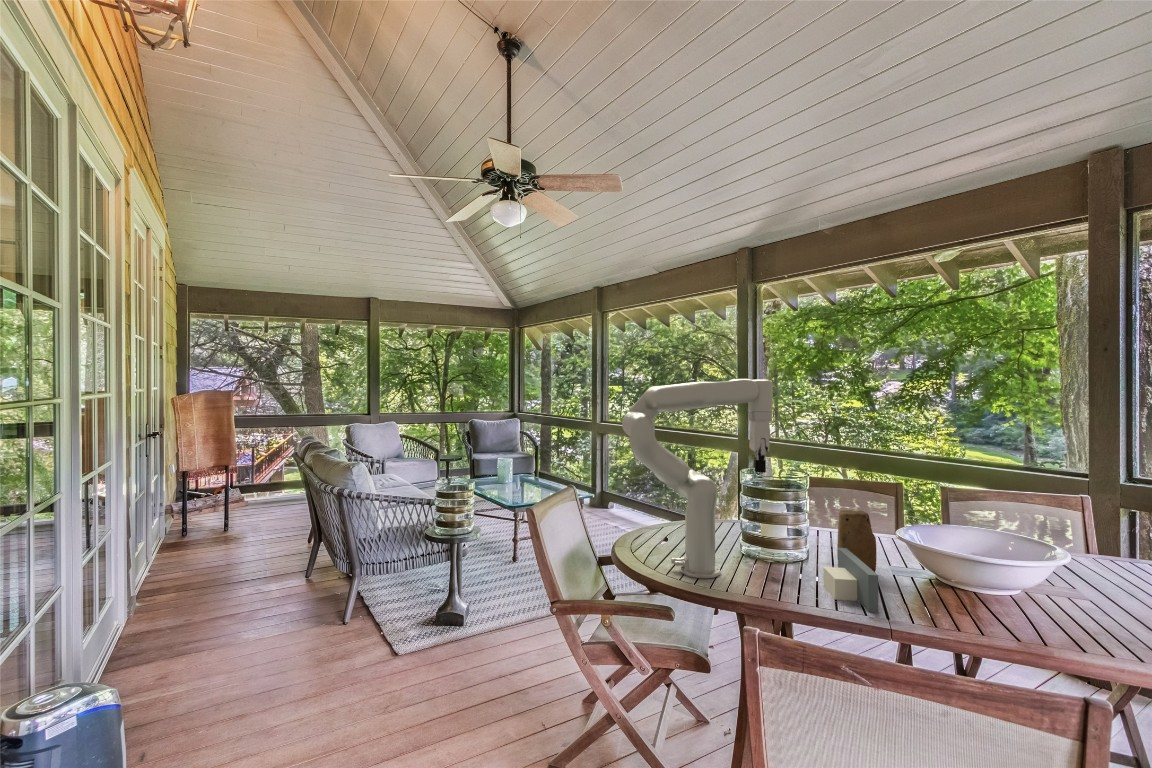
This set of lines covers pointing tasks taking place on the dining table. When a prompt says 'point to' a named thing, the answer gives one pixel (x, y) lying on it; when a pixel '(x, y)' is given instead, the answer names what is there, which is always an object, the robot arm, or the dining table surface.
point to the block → (857, 536)
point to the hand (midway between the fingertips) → (760, 471)
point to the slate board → (861, 579)
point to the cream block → (840, 583)
